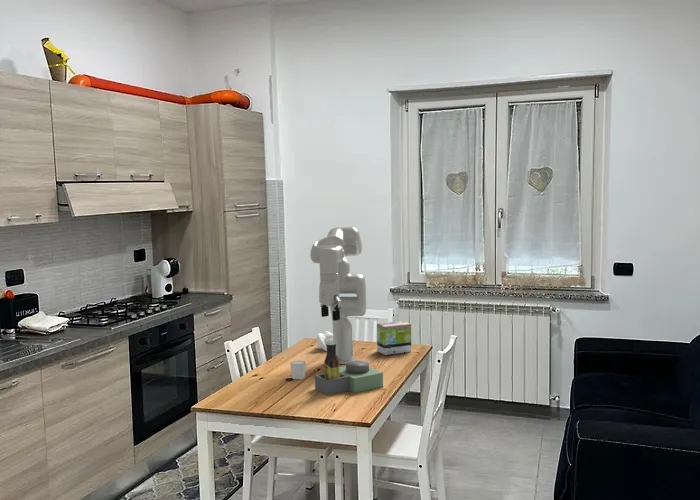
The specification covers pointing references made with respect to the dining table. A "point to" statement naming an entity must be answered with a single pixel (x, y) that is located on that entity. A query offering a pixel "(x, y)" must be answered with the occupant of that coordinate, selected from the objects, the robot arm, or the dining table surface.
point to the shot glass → (298, 369)
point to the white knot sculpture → (324, 339)
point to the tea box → (393, 337)
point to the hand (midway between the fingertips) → (330, 318)
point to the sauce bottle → (331, 362)
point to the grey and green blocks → (350, 379)
